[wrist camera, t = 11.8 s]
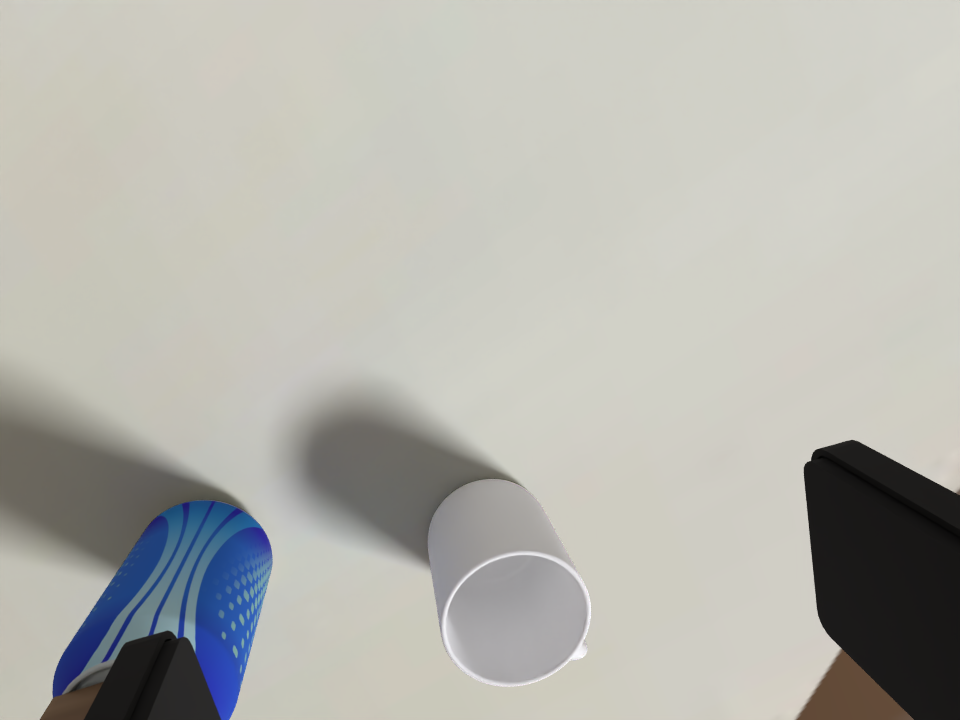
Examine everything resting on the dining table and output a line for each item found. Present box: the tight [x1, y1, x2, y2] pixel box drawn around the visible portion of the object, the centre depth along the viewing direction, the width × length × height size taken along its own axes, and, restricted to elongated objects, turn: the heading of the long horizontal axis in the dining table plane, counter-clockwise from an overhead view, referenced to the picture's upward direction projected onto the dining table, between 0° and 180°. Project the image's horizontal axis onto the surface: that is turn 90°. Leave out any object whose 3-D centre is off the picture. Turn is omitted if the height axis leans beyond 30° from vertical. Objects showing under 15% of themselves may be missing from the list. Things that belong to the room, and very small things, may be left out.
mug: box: [428, 479, 591, 687], centre depth 45 cm, size 9×12×11 cm
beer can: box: [53, 500, 272, 720], centre depth 39 cm, size 8×8×16 cm
